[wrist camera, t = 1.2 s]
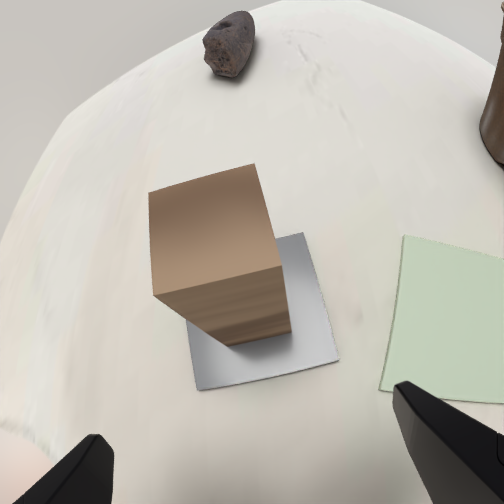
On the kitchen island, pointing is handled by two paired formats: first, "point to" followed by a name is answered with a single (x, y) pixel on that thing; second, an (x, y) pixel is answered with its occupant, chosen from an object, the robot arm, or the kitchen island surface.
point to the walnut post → (219, 257)
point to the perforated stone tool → (229, 44)
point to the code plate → (279, 347)
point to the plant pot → (495, 110)
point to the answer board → (448, 323)
